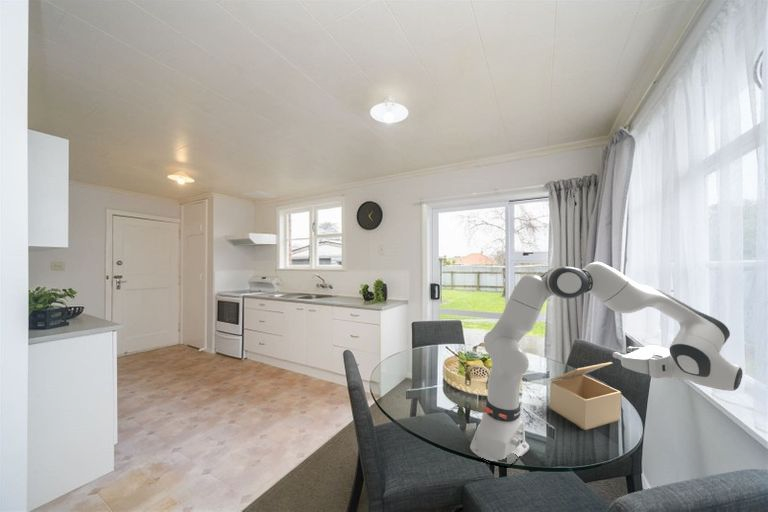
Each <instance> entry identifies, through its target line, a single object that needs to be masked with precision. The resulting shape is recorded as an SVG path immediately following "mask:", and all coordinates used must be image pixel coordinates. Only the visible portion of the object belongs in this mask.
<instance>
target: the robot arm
mask: <svg viewBox="0 0 768 512" xmlns="http://www.w3.org/2000/svg"><path fill="white" fill-rule="evenodd" d="M586 293H588V294H590V295H592V296H593V297H595V298H596V299H597V300H598V301H600V302H601V303H602V304H604V306H606V307H607V308H608V309H610V310H611V311H614V312H616V313H620V314H633V313H637V312H639V311H641V310H643V309H645V308H653V309H656V310H658V311H660V312H661V313H662V314H665V315H666V316H668V317H669V318H671V319H672V320H674V321H676V322H677V323H678V324H679V330H678V332H677V334H676V335H675V337H674V338H673V341H672V342H671V344H670V347H669V348H666V347H662V346H658V345H654V344H653V345H651V344H649V345H645V346H644V347H643V346H642V347H636V346H631V345H630V346H626V352H627V354H626V353H625V354H622V353H621V352H618V351H614V352H612V357H613V358H615V359H618V360H620V362H621V366H622V367H623V368H625V369H627V370H631V371H633V372H637V373H641V374H645V375H649V377H651V378H653V379H662V378H664V379H665V378H670V379H671V378H673V379H675V380H676V379H678V380H681V381H683V380H684V381H689V382H692V383H694V384H697V385H700V386H703V387H707V388H711V389H715V390H719V391H720V390H721V391H728V392H729V391H730V392H732V391H733V392H734V391H736V390H737V389H738V388H739V387H740V385H741V383H742V378H743V369H742V367H741V366H739V365H737V364H735V363H732V362H729V361H728V360H727V359H726V358H724V357H723V356H722V355H721V353H720V352H721V350H722V348H723V346H724V345H725V343H726V342H727V341H728V339H729V338H730V337H731V336H730V335H731V333H730V329H729V328H728V326H726V324H725V323H723V322H722V321H721V320H719V319H718V318H715V317H713V316H711V315H708V314H707V313H706V314H705V313H704V312H701V311H700V310H697V309H695V308H693V307H692V306H690V305H687V304H686V303H685V302H682V301H680V300H679V299H677V298H676V297H674V296H672V295H670V294H668V293H666V292H664V291H663V290H661V289H659V288H656V287H654V286H651V285H645V284H644V285H642V284H639V283H637V282H635V281H633V280H632V279H630V278H629V277H627V276H626V275H624V274H623V273H622V272H620V271H619V270H617V269H615V268H613V267H611V266H609V265H607V264H605V263H603V262H600V261H595V262H591V263H589V264H588V263H587V265H586V266H584V267H583V268H578V267H572V266H566V265H565V266H564V265H563V266H562V265H561V266H556V267H554V268H551V269H549V270H547V271H546V272H545V273H544V274H542V275H535V274H526V275H525V274H524V275H523V276H521V278H520V279H519V281H518V282H517V284H516V285H515V287H514V289H513V291H512V292H511V295H510V297H509V299H508V300H507V302H506V306H505V307H504V310H503V312H502V315H501V316H500V318H499V319H498V321H497V322H496V323H495V325H494V326H493V328H492V329H491V330H489V331H487V333H486V334H485V335H484V338H483V345H484V349H485V352H486V353H487V355H488V356H489V357H490V360H491V372H490V375H489V376H488V379H487V396H486V400H485V404H484V405H485V406H483V408H482V412H483V413H482V416H481V420H480V422H479V424H478V425H477V427H476V430H475V432H474V435H473V438H472V440H471V443H470V445H469V449H470V450H471V452H472V453H473V454H475V455H476V456H478V457H479V458H480V457H481V459H482V458H484V459H486V460H490V461H497V460H502V459H505V458H506V457H507V455H509V454H510V453H514V454H516V455H517V456H518V457H519V456H521V457H523V455H525V454H526V453H527V452H528V451H529V450H530V445H529V443H527V442H526V435H525V434H526V433H525V431H526V430H525V423H524V421H523V420H522V417H521V411H522V410H521V409H522V408H521V403H520V391H521V390H520V387H521V381H522V377H523V375H524V374H525V373H526V372H527V371H528V368H529V365H530V364H529V363H530V362H529V359H528V357H527V354H526V352H525V350H524V349H523V348H522V346H520V344H519V343H520V342H521V340H522V339H523V338H524V336H525V335H526V334H527V333H529V332H531V331H532V330H533V329H534V326H535V325H536V322H537V320H538V318H539V316H540V314H541V312H542V309H543V307H544V304H545V303H546V301H547V300H548V298H550V297H552V296H555V297H557V298H560V299H566V300H568V299H569V300H570V299H575V298H578V297H580V296H582V295H583V294H586ZM484 459H483V460H484ZM486 460H485V461H486Z"/></svg>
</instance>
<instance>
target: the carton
mask: <svg viewBox="0 0 768 512" xmlns="http://www.w3.org/2000/svg"><path fill="white" fill-rule="evenodd" d="M549 389H550V391H549V392H550V394H549V409H550V410H552V411H554V412H555V413H556V414H558V415H560V416H562V417H563V418H565V419H566V420H567V421H569V422H571V423H573V424H574V425H575V426H577V427H579V428H580V429H582V430H583V431H587V430H591V429H594V428H597V427H601V426H604V425H608V424H611V423H614V422H615V423H616V422H618V421H621V407H622V406H621V403H622V402H621V401H622V392H621V391H620V390H618V389H615V388H614V387H611V386H609V385H607V384H604V383H602V382H601V381H598V380H595V379H594V378H591V377H589V376H587V375H585V374H583V375H578V376H573V377H568V378H563V379H559V380H554V381H550V387H549Z"/></svg>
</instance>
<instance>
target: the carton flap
mask: <svg viewBox="0 0 768 512" xmlns="http://www.w3.org/2000/svg"><path fill="white" fill-rule="evenodd" d="M611 364H613V362H612V361H609V362H605V363H598V364H593V365H589V366H584V367H578V368H574V369H573V370H570V371H567V372H566V373H562V374H561V375H558V376H556V377H553V378H551V379H549V381H550V382H552V381H557V380H562V379H567V378H571V377H576V376H581V375H585V374H588V373H590V372H591V373H592V372H593V371H594V372H595V370H599V369H601V368H604V367H606V366H608V365H609V366H610V365H611Z"/></svg>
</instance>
